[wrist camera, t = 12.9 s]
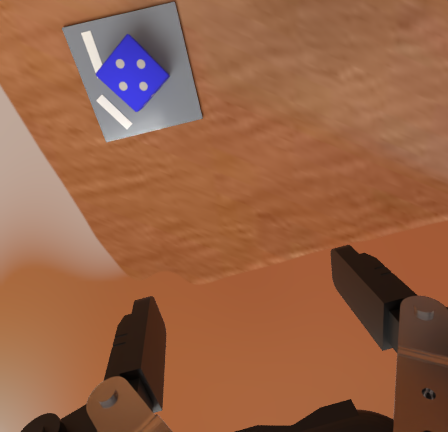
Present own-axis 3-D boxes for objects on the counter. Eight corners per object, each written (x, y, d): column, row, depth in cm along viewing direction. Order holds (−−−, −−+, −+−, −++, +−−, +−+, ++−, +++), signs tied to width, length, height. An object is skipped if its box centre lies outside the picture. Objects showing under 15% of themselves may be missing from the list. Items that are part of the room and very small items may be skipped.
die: (170, 76, 34) (168, 75, 29) (142, 109, 35) (136, 113, 30) (135, 39, 32) (127, 32, 27) (105, 75, 33) (94, 74, 28)
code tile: (174, 3, 31) (174, 1, 31) (202, 118, 37) (202, 118, 36) (63, 28, 31) (61, 27, 30) (107, 141, 36) (106, 142, 36)
